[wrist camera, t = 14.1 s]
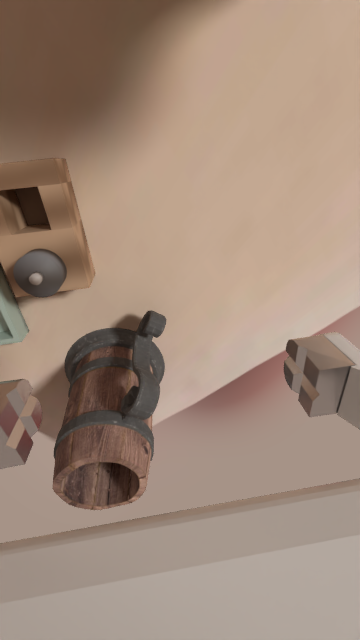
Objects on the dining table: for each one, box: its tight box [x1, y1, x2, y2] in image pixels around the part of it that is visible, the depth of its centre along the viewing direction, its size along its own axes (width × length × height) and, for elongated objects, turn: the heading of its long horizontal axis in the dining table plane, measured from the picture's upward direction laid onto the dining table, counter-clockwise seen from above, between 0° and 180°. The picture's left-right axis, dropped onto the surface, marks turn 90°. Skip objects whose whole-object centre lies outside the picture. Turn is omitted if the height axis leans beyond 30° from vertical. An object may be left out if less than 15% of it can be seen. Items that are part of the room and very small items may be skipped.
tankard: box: [53, 311, 166, 510], centre depth 38 cm, size 24×17×20 cm
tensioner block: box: [0, 158, 95, 297], centre depth 31 cm, size 14×9×8 cm, turn 6°
